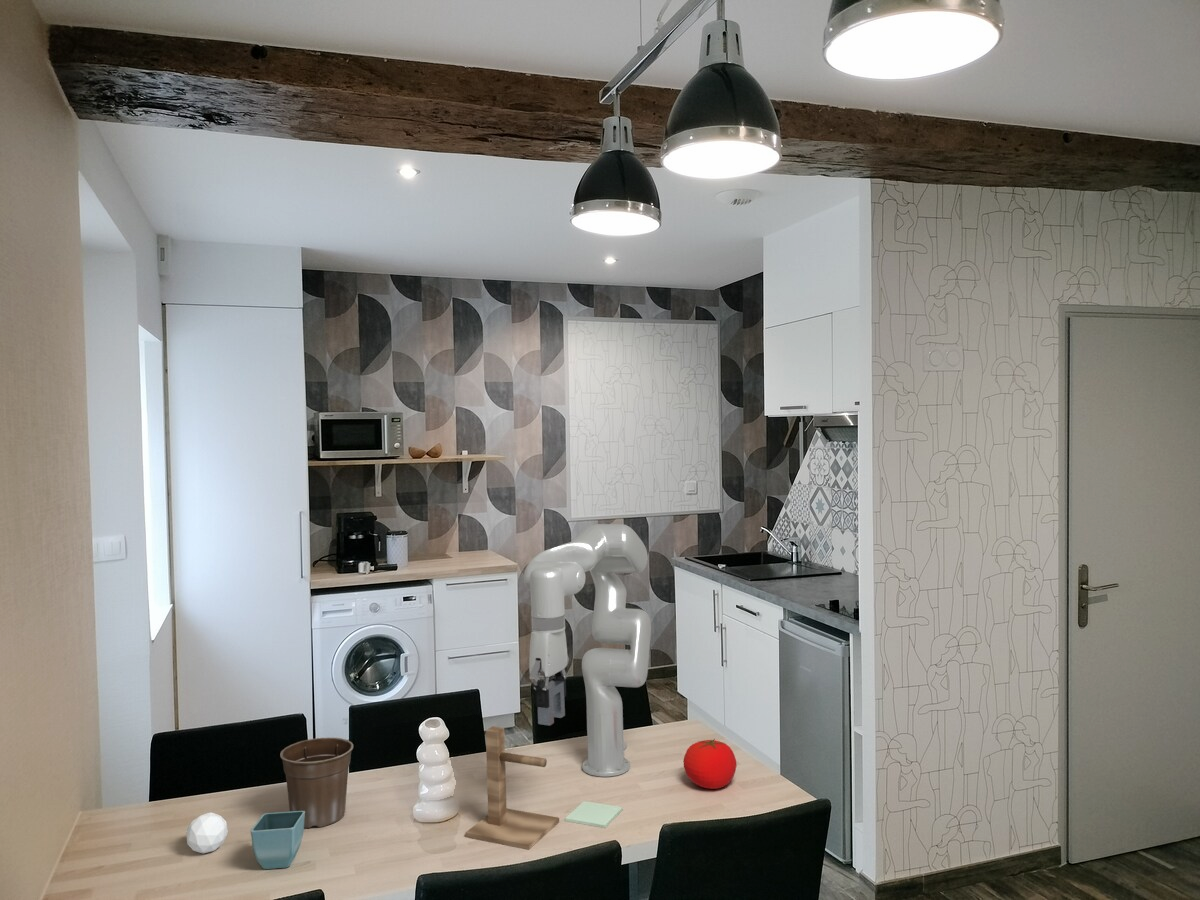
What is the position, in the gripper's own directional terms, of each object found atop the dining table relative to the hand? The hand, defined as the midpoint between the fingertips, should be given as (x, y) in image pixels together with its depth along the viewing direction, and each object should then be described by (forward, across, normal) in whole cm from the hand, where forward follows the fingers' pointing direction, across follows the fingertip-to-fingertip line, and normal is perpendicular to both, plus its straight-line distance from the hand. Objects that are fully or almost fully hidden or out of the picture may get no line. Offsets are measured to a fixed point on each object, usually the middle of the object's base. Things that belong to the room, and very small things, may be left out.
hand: (551, 701), depth 187 cm
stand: (+28, +5, -8) cm, 30 cm away
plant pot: (+28, +18, -54) cm, 63 cm away
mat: (+28, -8, +6) cm, 30 cm away
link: (+4, 0, 0) cm, 4 cm away
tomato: (+29, -34, +25) cm, 52 cm away
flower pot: (+28, +37, -45) cm, 65 cm away
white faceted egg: (+28, +39, -66) cm, 82 cm away
